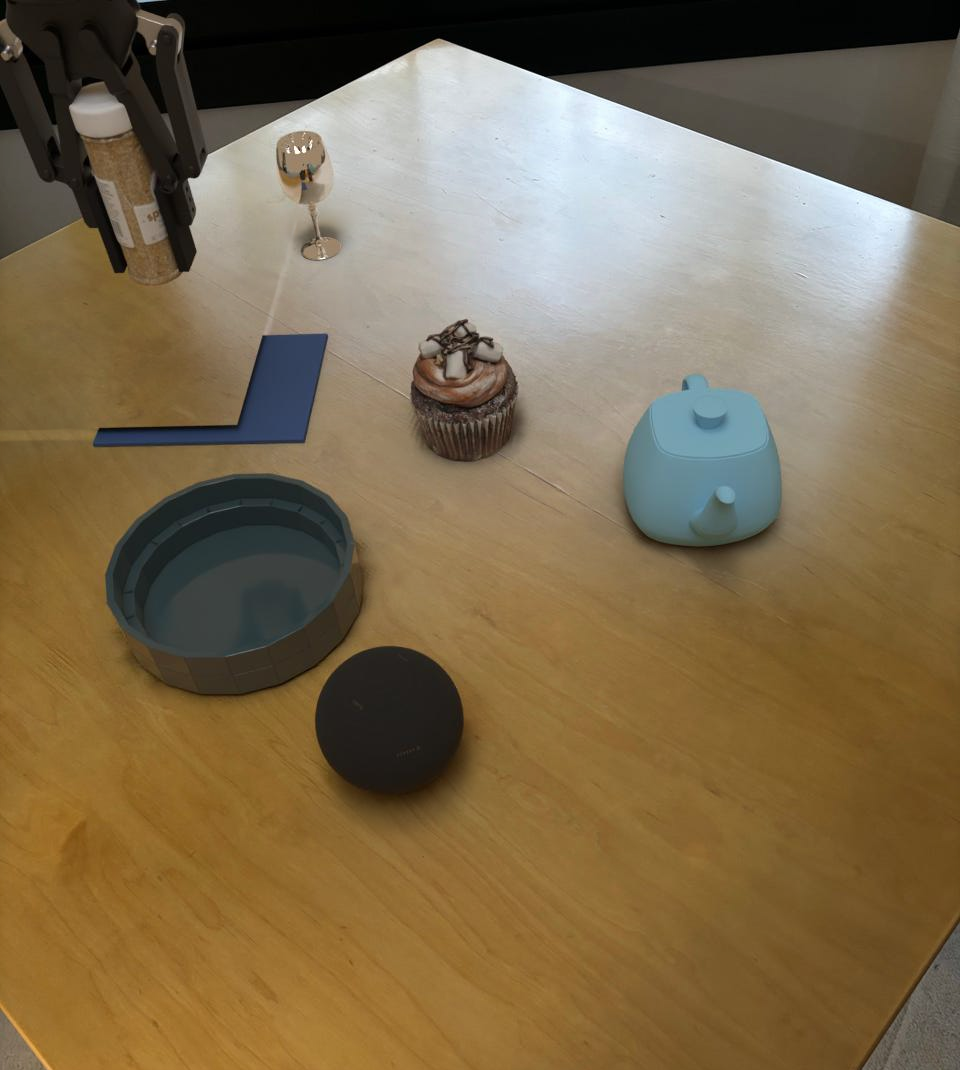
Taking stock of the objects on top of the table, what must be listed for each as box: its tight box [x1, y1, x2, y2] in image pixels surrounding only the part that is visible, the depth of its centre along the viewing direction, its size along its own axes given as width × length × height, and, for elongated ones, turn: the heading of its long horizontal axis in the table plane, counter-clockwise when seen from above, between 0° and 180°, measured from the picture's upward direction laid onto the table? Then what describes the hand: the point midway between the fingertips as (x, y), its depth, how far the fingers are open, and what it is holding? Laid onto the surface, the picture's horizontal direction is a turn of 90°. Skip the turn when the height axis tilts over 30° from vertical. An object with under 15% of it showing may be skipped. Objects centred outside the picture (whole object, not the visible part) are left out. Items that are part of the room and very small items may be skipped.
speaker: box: [314, 645, 465, 796], centre depth 73 cm, size 10×10×10 cm
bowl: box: [104, 472, 365, 695], centre depth 85 cm, size 19×19×5 cm
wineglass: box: [275, 130, 342, 261], centre depth 114 cm, size 6×6×12 cm
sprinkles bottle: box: [69, 81, 184, 287], centre depth 77 cm, size 5×5×14 cm
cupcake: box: [409, 318, 520, 462], centre depth 94 cm, size 10×10×10 cm
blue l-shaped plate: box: [92, 332, 329, 448], centre depth 104 cm, size 20×16×1 cm
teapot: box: [622, 373, 783, 547], centre depth 85 cm, size 13×11×18 cm
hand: (155, 261), depth 82 cm, fingers closed on sprinkles bottle, 4 cm apart
